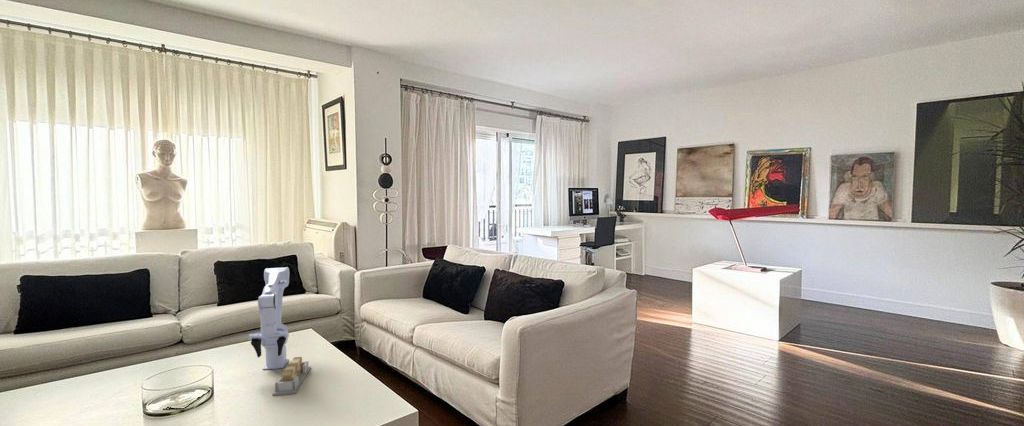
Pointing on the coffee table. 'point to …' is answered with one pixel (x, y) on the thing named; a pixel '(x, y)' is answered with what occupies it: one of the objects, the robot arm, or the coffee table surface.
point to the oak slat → (292, 370)
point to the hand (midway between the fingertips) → (269, 355)
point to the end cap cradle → (291, 382)
